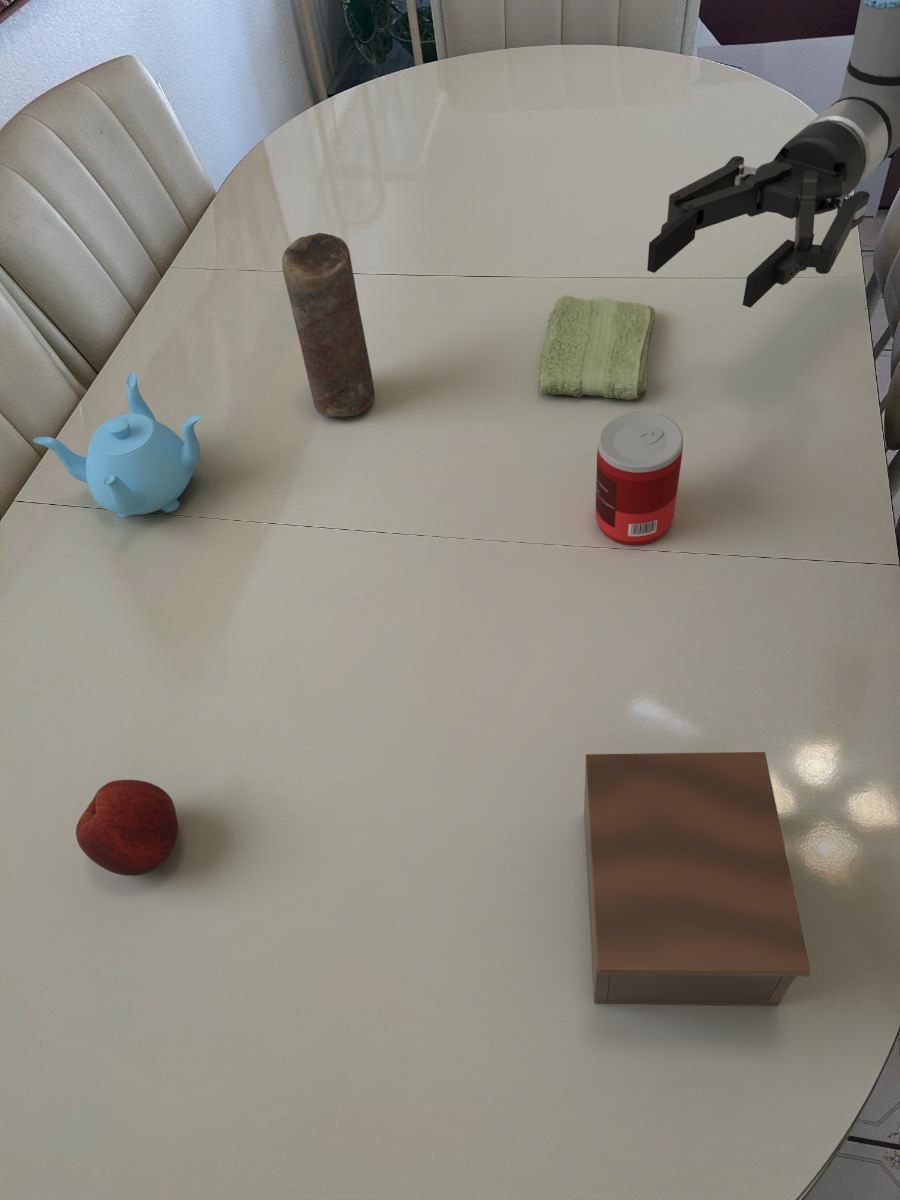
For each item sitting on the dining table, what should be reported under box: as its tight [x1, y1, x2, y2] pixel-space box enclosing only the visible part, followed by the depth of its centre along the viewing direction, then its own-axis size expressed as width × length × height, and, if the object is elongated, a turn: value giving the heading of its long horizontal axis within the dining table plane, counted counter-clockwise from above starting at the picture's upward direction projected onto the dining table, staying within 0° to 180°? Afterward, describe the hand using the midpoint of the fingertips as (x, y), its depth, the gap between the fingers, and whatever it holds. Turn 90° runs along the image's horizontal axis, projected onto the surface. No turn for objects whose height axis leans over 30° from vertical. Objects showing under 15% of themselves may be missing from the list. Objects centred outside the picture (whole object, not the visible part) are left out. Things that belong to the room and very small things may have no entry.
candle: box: [281, 232, 376, 418], centre depth 103 cm, size 8×7×20 cm
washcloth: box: [537, 294, 656, 401], centre depth 111 cm, size 13×18×3 cm
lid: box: [585, 751, 811, 978], centre depth 63 cm, size 16×13×1 cm
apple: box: [75, 779, 179, 877], centre depth 75 cm, size 7×8×8 cm
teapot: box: [32, 372, 202, 518], centre depth 101 cm, size 13×13×10 cm
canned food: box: [595, 411, 684, 546], centre depth 91 cm, size 8×8×11 cm
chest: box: [583, 765, 796, 1007], centre depth 67 cm, size 15×13×9 cm
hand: (699, 274), depth 80 cm, fingers open, 9 cm apart
